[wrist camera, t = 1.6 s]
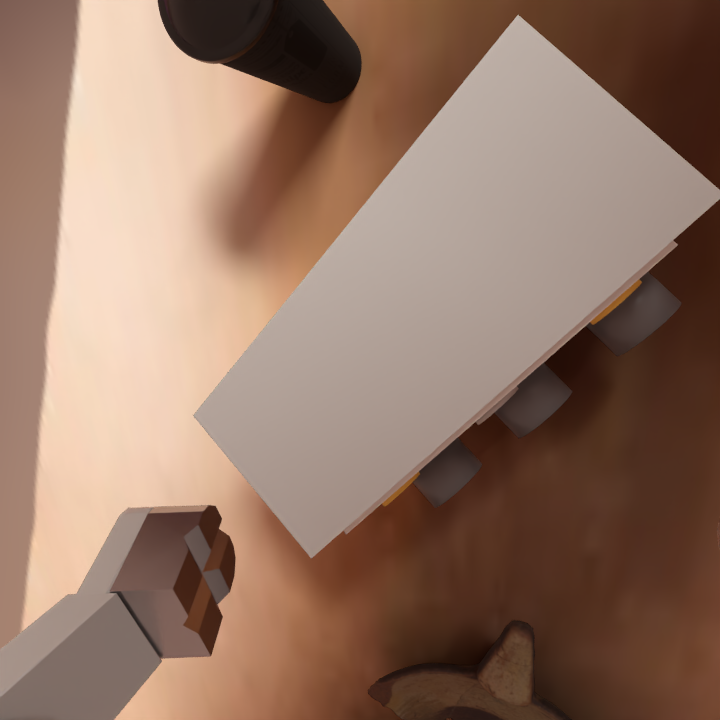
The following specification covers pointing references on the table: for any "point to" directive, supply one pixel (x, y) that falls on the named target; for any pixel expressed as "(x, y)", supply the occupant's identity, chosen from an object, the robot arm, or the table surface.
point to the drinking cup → (269, 42)
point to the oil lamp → (472, 685)
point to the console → (451, 287)
